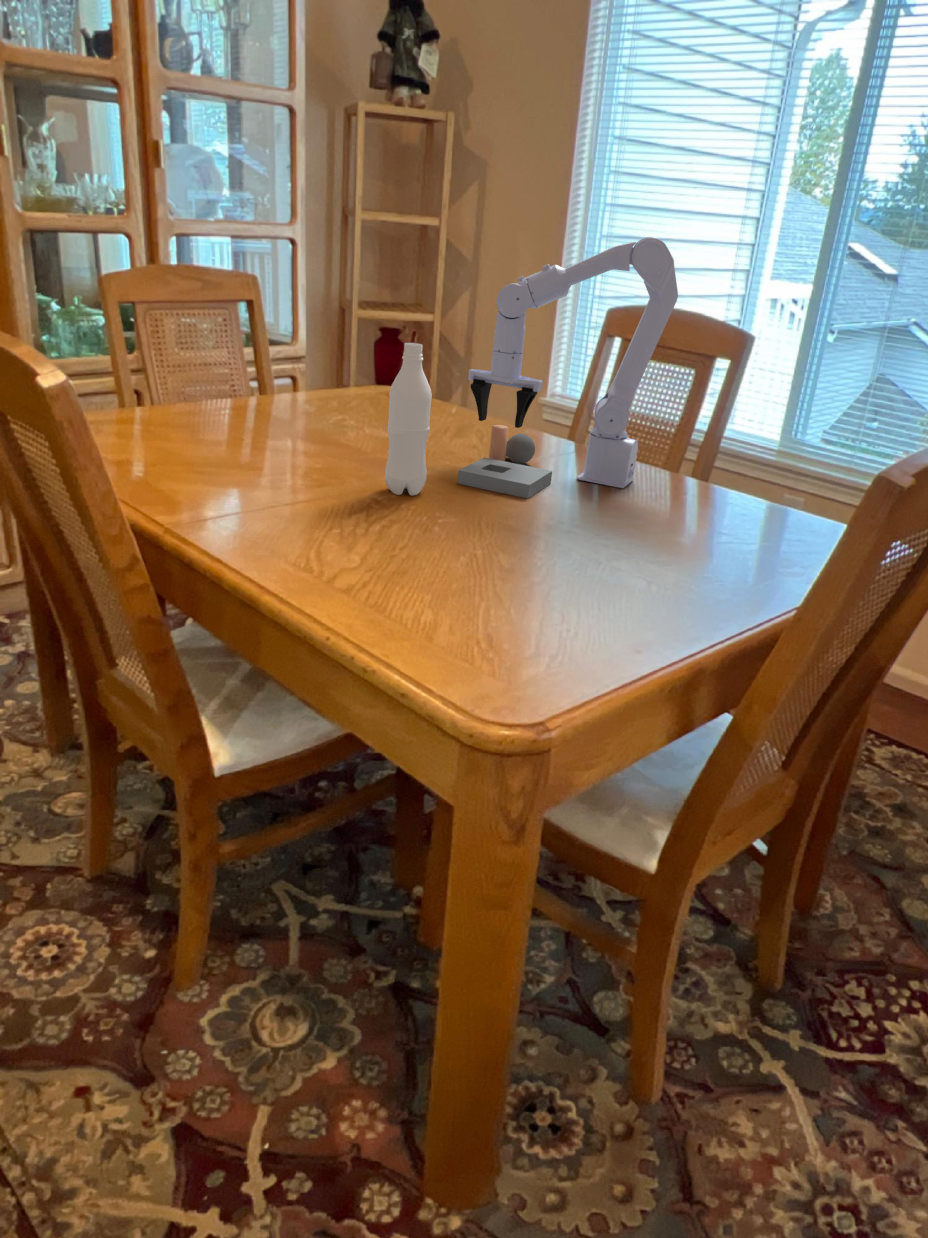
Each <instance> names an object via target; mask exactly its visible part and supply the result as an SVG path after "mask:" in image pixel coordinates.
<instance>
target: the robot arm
mask: <svg viewBox="0 0 928 1238" xmlns="http://www.w3.org/2000/svg"><path fill="white" fill-rule="evenodd" d="M630 265H632V267H633V269H634V270H635V272H636V273H637V274H638V275H639V277H640V278H641V279H642V280H643V283H644V286H645V288H646V291H647V293H648V296H649V299H648V301H647V304H646V306H645V307H644V311H642V315H641V317H640V320H639V322H638V324H637V327H636V328H635V331H634V334H633V335H632V338H631V340H630V342H629V345H628V347H627V349H626V351H625V354H624V355H623V358H622V360H621V363H620V365H619V367H618V369H617V371H616V374H615V376H614V379H613V381H612V382H611V383H610V386H609V387H608V389H607V391H606V393H605V395H604V396H603V397H602V398H600V399H599V400H598V401H597V403H596V405H595V406H594V407H595V408H594V419H593V422H594V426H593V427H591V428H590V429H589V434H588V441H587V447H586V448H587V449H586V454H585V462H584V467H583V472H581V473H580V474H578V475H577V476H576V480H578V481H579V480H580V481H585V482H589V483H595V484H599V485H603V486H608V487H612V488H613V487H614V488H620V489H624V488H625V487H627V486H628V485H629V484H630V483H632V482H633V481H634V475H635V468H636V462H637V456H638V450H639V447H638V446H639V442H638V440H637V439H634V438H630V437H628V432H627V431H626V429H627V427H628V425H629V412H630V408H631V407H632V403H633V400H634V398H635V395H636V391H637V389H638V387H639V385H640V383H641V380H642V378H643V376H644V373H645V372H646V370H647V367H648V365H649V362H650V360H651V358H652V357H653V354H654V352H655V350H656V347H657V345H658V344H659V341H660V339H661V336H662V334H663V332H664V330H665V328H666V325H667V324H668V321H669V319H670V317H671V314H672V312H673V310H674V308H675V305H676V304H677V301H678V297H679V291H678V290H679V289H678V285H677V276H676V271H675V259H674V257H673V255H672V253H671V251H670V249H669V247H668V246H667V244H666V243H665V242H664V241H663V240H661V239H659V238H657V237H653V236H647V237H643V238H640V240H638V241H637V242H636V241H635V240H634V241H630V242H626V243H622V244H618V245H615V246H612V247H610V248H608V249H606V250H603V251H601V252H599V253H597V254H595V255H592V256H591V257H588V258H587V259H584V260H582V261H579V262H578V263H575V264H573V265H571V266H569V267H566V268H564V267H562V266H560V265H558V264H553V265H550V263H548V264H545V265H543V266H542V267H541V268H542V270H540V271H538V272H536V273H533V274H531V275H528V276H526V277H524V276H523V275H522V276H519V277H517V281H518V282H517V283H516V282H515V283H514V282H512V283H508V284H507V285H505V286H503V287H502V288H501V289H500V291H498V294H497V296H496V307H497V309H498V311H497V313H496V317H495V318H496V323H495V326H494V335H493V345H492V346H493V347H492V356H491V366H490V370H484V369H476V368H475V369H473V368H472V369H468V375H467V380H468V381H471V382H472V383H470V390H471V392H472V394H473V398H474V401H475V404H476V408H477V416H478V421H480V422H483V421H486V420H487V415H488V407H489V405H488V404H489V400H490V398H489V397H490V393H491V389H492V386H493V384H494V385H498V386H505V387H511V388H516V389H519V390H517V391H516V393H515V394H516V415H515V420H514V427H515V428H517V429H520V428H521V427H522V426H523V423H524V420H525V417H526V415H527V412H528V410H529V408H530V406H531V405H532V403H533V401H534V400H535V398H536V396H537V395H538V393H540V392H541V391H542V389H543V380H541V379H537V378H532V377H527V376H524V375H522V374H521V373H522V366H523V357H524V347H525V339H526V338H525V337H526V331H527V330H526V317H527V313H526V312H527V311H528V309H534V310H536V309H538V308H540V307H543V306H545V305H547V304H550V303H552V302H555V301H557V300H559V299H562V298H565V297H566V296H567V295H568V293H569V291H570V288H571V286H573V285H576V284H578V283H581V282H584V281H586V280H589V279H591V278H594V277H597V276H599V275H602V274H605V273H606V272H609V271H612V270H616V271H617V270H618V271H624V272H630Z"/></svg>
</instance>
